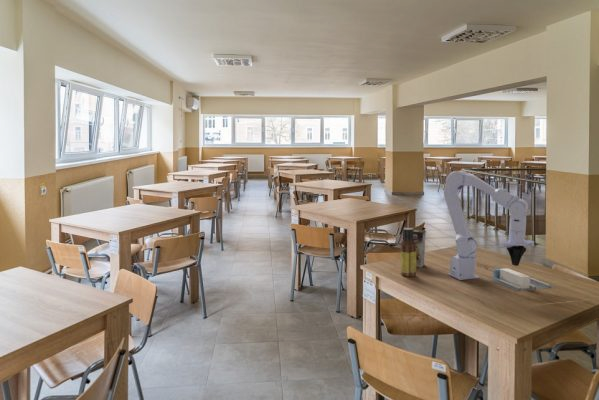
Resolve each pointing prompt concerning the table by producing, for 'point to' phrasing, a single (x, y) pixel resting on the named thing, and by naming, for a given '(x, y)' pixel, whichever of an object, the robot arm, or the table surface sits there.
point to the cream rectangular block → (515, 278)
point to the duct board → (533, 286)
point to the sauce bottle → (408, 254)
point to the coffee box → (419, 246)
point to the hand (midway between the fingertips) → (515, 265)
